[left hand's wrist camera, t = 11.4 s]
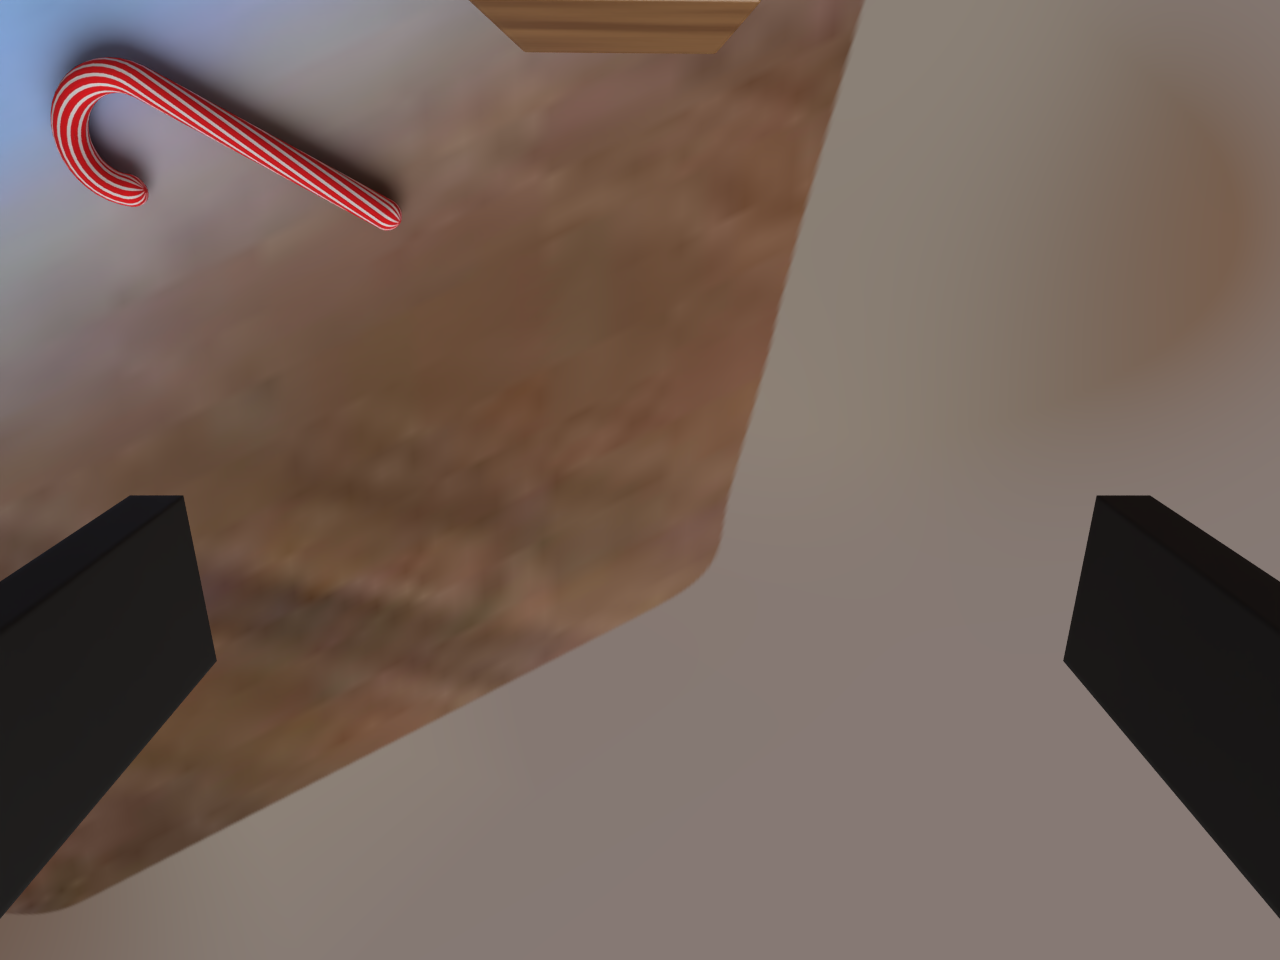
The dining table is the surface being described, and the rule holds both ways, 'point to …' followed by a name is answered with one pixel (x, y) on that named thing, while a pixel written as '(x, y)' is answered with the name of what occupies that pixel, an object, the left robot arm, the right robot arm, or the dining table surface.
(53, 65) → the dining table surface
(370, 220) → the candy cane
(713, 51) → the box
